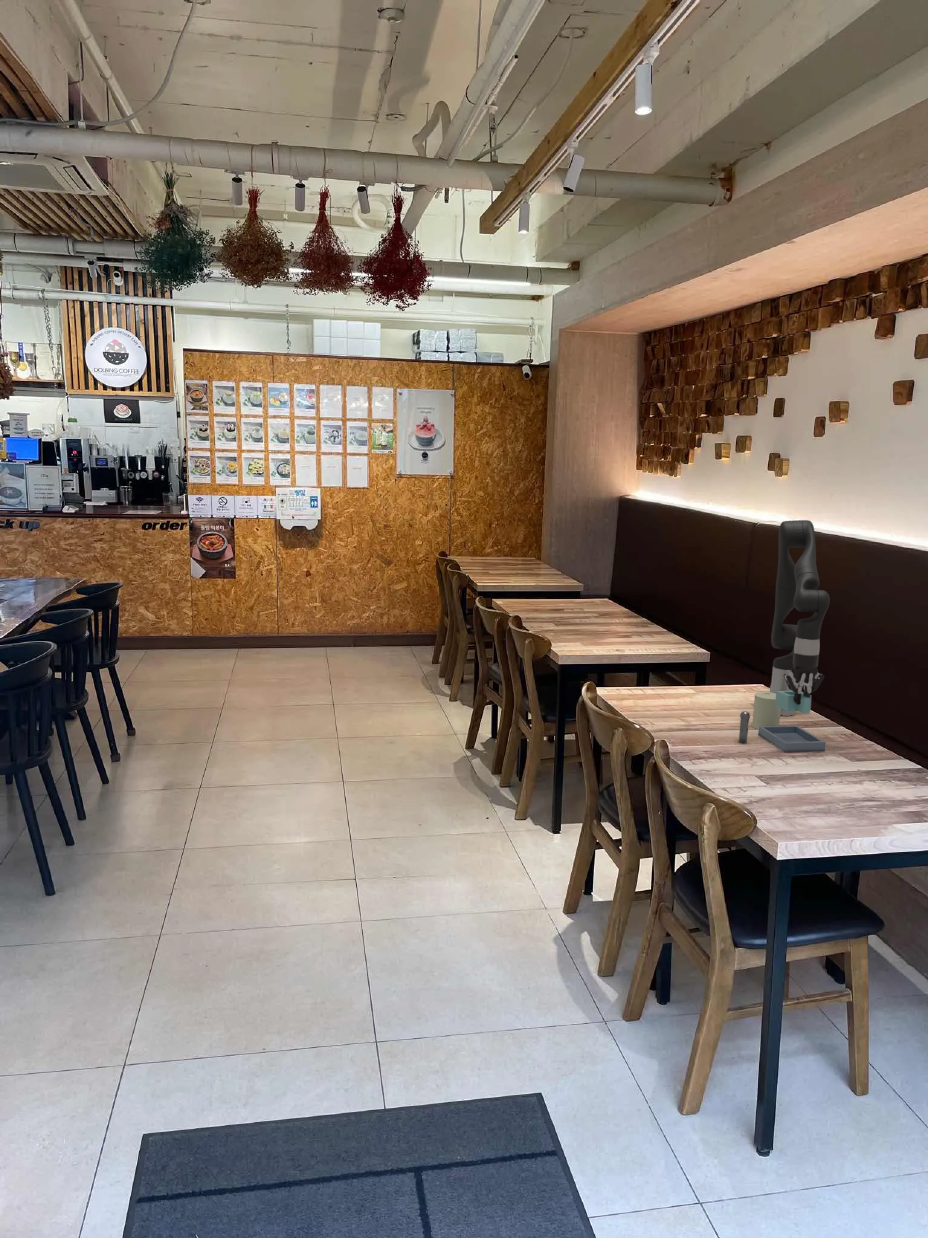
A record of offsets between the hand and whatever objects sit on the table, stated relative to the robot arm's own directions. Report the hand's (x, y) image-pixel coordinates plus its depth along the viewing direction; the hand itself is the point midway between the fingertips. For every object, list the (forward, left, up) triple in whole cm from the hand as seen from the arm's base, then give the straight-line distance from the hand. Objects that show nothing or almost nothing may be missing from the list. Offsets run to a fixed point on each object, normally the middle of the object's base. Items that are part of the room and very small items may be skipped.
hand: (801, 703), depth 282 cm
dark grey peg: (-7, -16, -15) cm, 23 cm away
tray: (-5, 0, -15) cm, 16 cm away
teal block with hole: (-3, 0, -3) cm, 4 cm away
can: (-22, 0, -15) cm, 26 cm away
